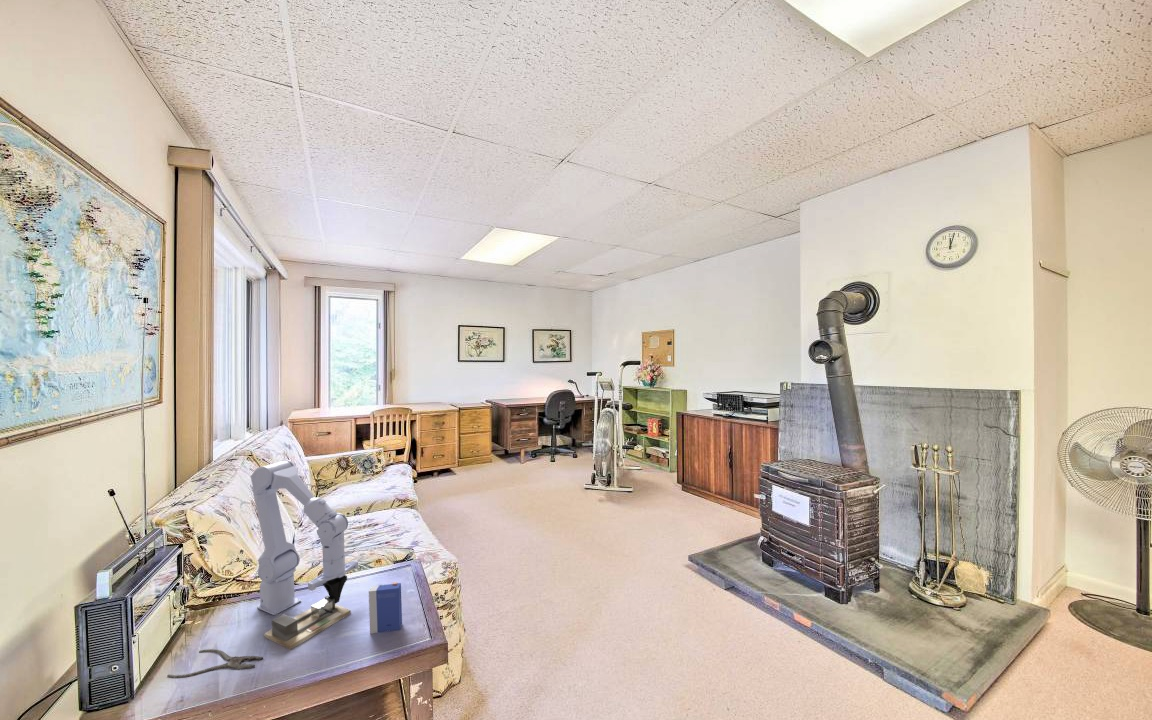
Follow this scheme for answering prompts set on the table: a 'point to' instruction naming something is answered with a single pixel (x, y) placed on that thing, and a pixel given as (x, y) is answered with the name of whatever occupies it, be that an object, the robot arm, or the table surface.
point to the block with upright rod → (323, 607)
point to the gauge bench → (302, 626)
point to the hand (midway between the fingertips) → (335, 601)
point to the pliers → (232, 663)
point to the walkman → (385, 608)
